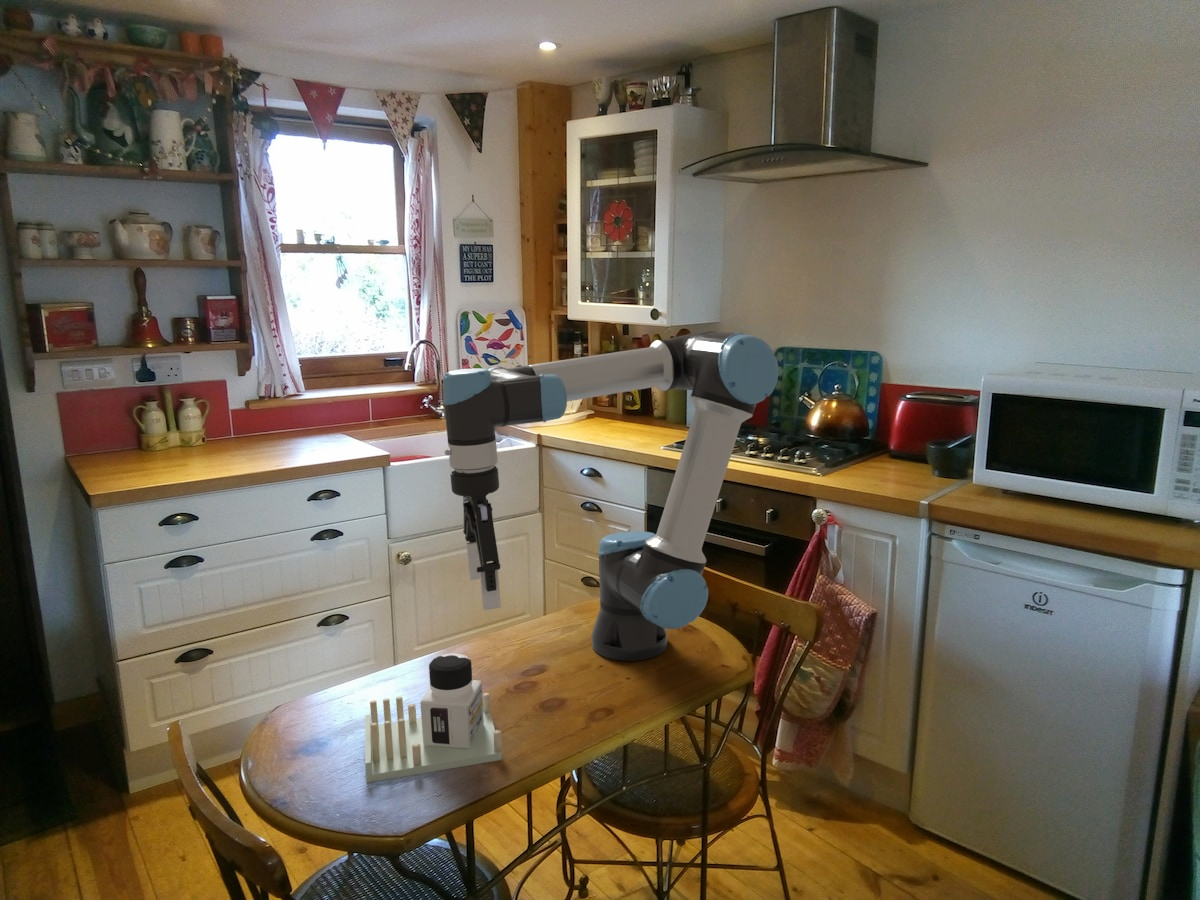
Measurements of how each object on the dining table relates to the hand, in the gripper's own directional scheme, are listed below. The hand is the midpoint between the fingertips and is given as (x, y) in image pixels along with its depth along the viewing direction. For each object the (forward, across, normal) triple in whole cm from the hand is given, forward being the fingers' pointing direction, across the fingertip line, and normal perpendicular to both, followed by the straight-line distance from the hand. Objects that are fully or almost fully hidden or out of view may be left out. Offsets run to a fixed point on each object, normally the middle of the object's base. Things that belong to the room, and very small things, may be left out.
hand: (484, 592), depth 134 cm
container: (+21, +6, -8) cm, 23 cm away
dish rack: (+22, +7, -11) cm, 25 cm away
